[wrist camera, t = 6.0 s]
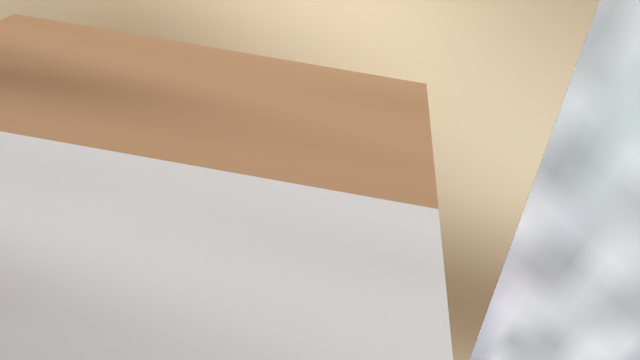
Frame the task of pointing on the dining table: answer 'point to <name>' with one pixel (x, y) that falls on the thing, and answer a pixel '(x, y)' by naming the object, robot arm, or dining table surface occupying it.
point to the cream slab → (418, 66)
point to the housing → (211, 204)
